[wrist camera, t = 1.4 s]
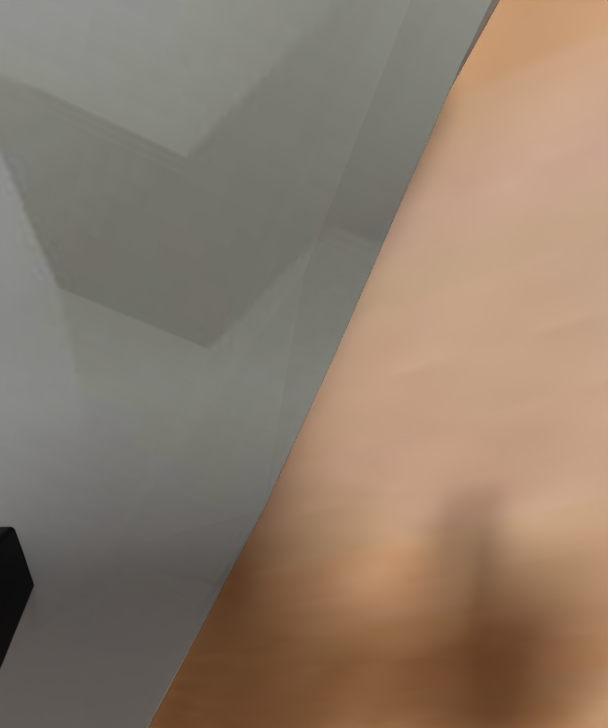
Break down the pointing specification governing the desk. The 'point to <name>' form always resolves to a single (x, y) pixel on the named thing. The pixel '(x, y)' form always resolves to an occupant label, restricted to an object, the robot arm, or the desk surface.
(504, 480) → the desk surface
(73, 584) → the light grey block
